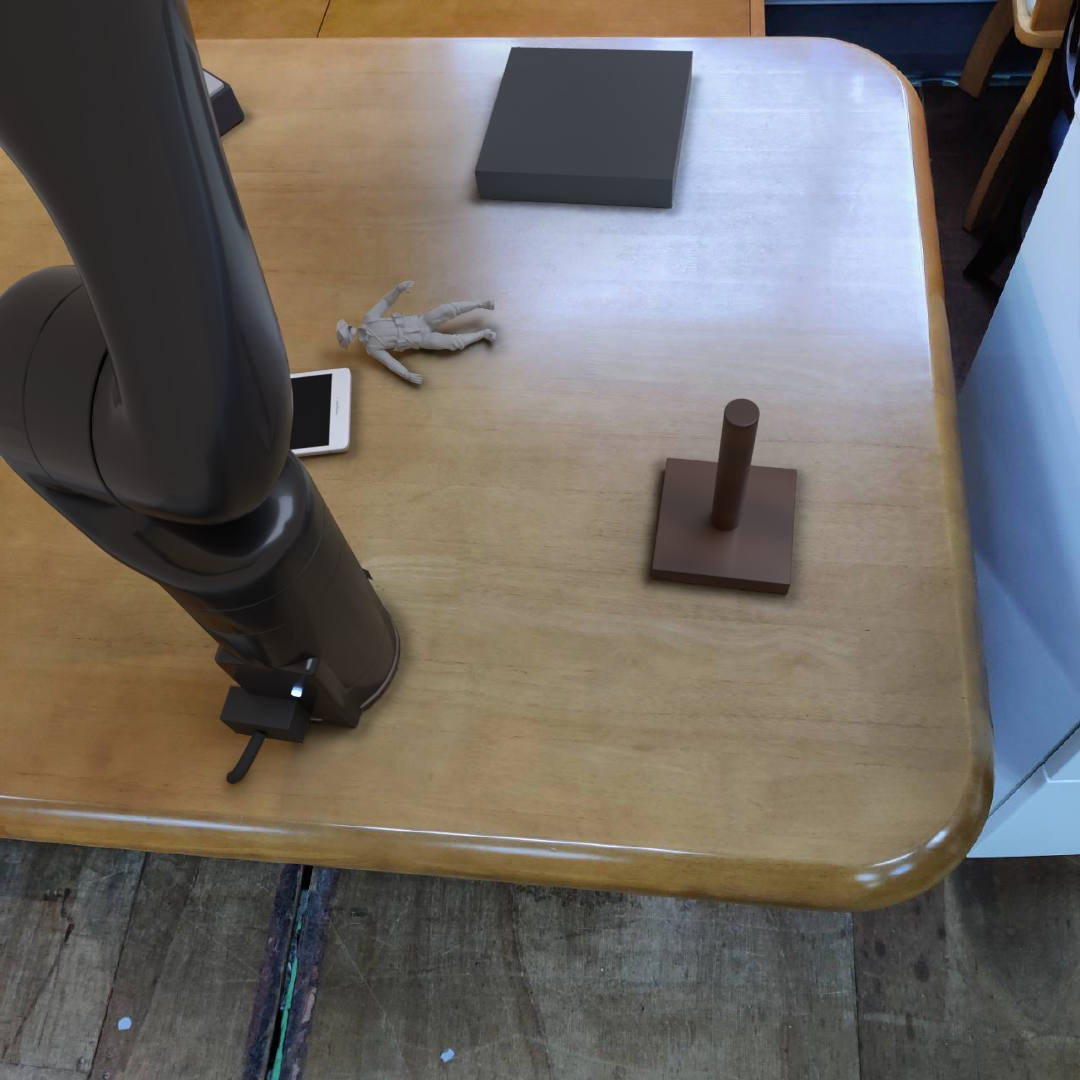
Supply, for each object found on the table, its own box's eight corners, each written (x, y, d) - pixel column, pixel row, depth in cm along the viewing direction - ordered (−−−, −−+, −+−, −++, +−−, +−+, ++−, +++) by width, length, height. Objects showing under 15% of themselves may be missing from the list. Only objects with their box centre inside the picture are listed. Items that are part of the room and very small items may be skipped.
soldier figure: (500, 378, 75) (348, 389, 71) (482, 375, 80) (338, 385, 76) (495, 277, 74) (338, 282, 70) (476, 279, 78) (329, 284, 74)
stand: (671, 208, 81) (672, 179, 79) (479, 198, 84) (474, 170, 82) (691, 80, 89) (692, 50, 87) (515, 75, 92) (511, 46, 90)
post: (787, 594, 63) (820, 486, 51) (651, 579, 65) (653, 470, 53) (794, 480, 67) (826, 356, 55) (666, 468, 69) (671, 345, 57)
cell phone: (155, 395, 76) (152, 390, 76) (352, 371, 76) (350, 366, 75) (143, 476, 73) (139, 471, 72) (349, 452, 72) (347, 447, 71)
